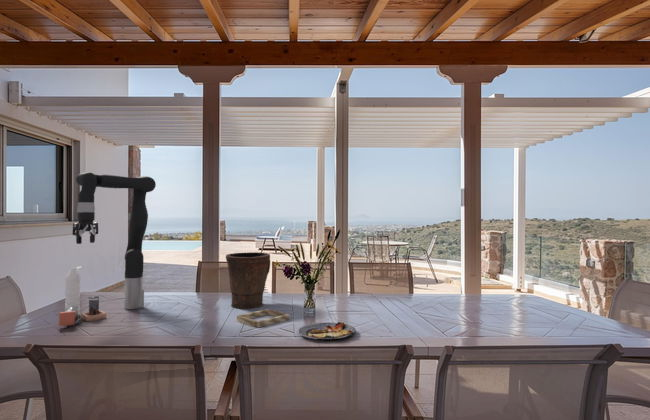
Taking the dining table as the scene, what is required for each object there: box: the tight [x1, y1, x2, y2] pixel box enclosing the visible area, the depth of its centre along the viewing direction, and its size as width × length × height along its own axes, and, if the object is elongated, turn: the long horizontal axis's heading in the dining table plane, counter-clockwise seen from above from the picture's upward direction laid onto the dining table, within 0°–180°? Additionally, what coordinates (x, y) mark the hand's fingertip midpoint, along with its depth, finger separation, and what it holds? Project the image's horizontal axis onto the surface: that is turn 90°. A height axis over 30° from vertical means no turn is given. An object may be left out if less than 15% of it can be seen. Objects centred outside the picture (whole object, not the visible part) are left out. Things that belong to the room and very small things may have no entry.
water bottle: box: [64, 265, 83, 317], centre depth 204 cm, size 9×6×25 cm
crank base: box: [75, 318, 84, 325], centre depth 189 cm, size 9×9×1 cm
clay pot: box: [225, 251, 271, 310], centre depth 229 cm, size 25×29×30 cm
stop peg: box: [88, 295, 100, 316], centre depth 198 cm, size 4×4×10 cm
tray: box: [80, 309, 107, 323], centre depth 197 cm, size 9×9×2 cm
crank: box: [58, 307, 79, 327], centre depth 186 cm, size 12×6×6 cm, turn 22°
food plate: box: [298, 321, 356, 340], centre depth 171 cm, size 25×23×4 cm
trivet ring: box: [236, 308, 290, 328], centre depth 194 cm, size 21×18×2 cm
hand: (85, 243), depth 198 cm, fingers open, 8 cm apart
